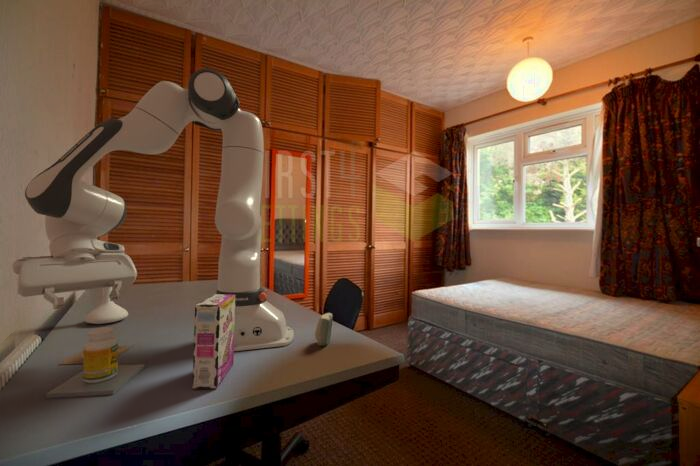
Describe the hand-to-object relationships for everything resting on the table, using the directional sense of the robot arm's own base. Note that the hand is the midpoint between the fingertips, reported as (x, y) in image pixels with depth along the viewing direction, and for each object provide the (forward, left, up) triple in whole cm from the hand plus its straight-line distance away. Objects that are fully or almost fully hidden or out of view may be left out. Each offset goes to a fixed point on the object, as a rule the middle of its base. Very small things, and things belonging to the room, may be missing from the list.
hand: (89, 303), depth 66 cm
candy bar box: (-28, +6, -15) cm, 32 cm away
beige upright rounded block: (-52, -10, -15) cm, 55 cm away
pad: (-6, +6, -14) cm, 17 cm away
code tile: (+3, -8, -14) cm, 17 cm away
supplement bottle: (-6, +6, -14) cm, 16 cm away
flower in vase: (+17, -36, -15) cm, 42 cm away
